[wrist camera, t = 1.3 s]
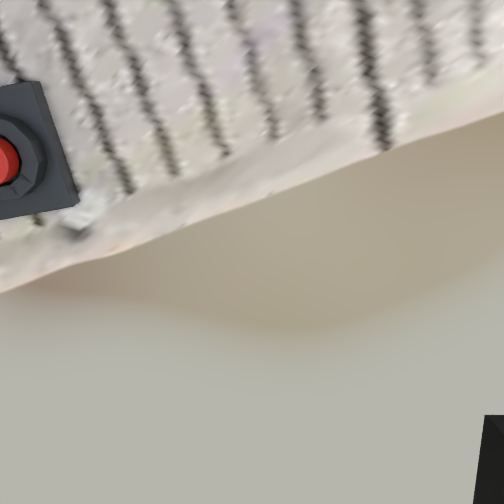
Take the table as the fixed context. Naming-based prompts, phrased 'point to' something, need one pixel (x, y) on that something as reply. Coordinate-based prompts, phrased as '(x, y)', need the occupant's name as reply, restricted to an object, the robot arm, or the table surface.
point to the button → (7, 161)
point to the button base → (33, 154)
